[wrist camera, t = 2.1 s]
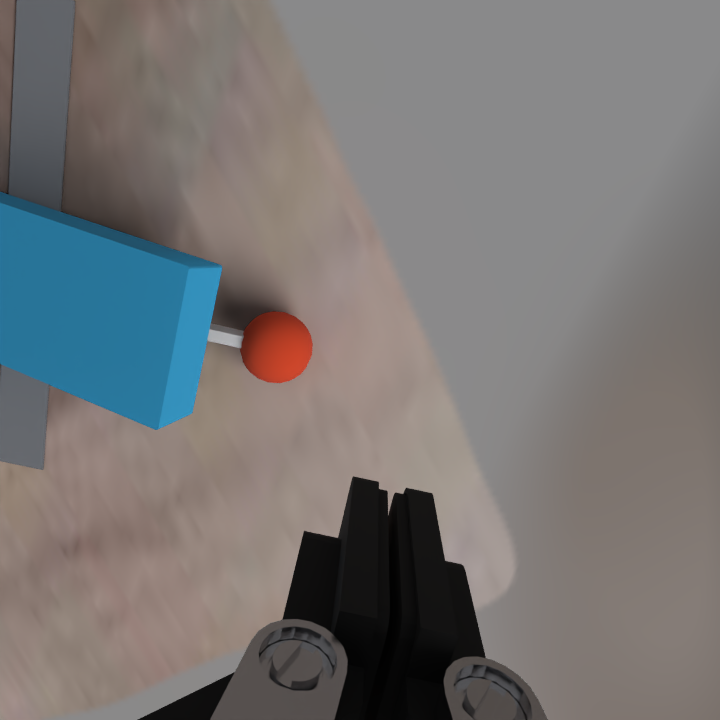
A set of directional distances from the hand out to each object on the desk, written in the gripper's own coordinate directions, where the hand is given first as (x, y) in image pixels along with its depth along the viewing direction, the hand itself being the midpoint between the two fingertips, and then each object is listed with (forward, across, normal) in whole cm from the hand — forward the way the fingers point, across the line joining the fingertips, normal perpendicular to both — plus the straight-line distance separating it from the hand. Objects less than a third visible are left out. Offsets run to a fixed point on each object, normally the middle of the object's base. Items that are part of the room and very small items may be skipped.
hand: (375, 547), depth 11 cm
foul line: (+17, +18, -1) cm, 24 cm away
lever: (+17, +13, 0) cm, 21 cm away
